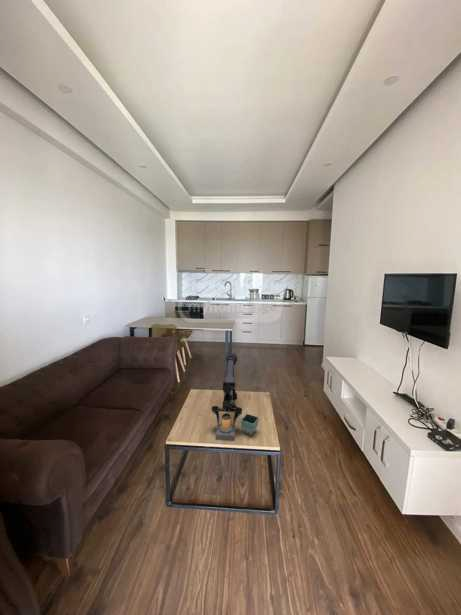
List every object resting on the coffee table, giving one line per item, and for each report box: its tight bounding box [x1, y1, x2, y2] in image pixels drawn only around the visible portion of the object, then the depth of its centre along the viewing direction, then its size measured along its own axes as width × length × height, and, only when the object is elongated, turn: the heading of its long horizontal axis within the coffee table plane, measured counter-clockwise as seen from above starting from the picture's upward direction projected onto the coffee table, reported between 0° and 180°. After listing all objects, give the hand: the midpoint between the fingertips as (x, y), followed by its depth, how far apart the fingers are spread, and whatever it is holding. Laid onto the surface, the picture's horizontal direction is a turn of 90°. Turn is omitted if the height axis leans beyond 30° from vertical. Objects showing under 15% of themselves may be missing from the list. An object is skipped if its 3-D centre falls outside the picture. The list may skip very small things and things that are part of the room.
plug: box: [220, 413, 232, 433], centre depth 155 cm, size 7×7×12 cm
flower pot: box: [240, 413, 260, 436], centre depth 157 cm, size 9×9×9 cm
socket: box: [215, 423, 236, 441], centre depth 155 cm, size 11×11×3 cm
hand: (225, 424), depth 153 cm, fingers open, 9 cm apart
